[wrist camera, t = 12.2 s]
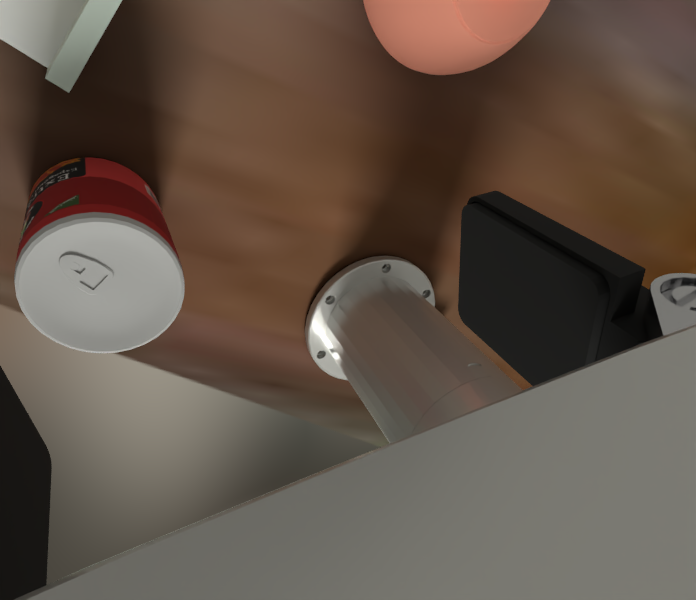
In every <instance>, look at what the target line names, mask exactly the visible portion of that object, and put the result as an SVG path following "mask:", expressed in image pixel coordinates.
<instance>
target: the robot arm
mask: <svg viewBox="0 0 696 600" xmlns="http://www.w3.org/2000/svg"><path fill="white" fill-rule="evenodd" d="M644 273H645V268H643V267H641V266H639V265H637V264H635V263H633V262H631V261H630V260H628V259H626V258H624V257H622V256H620V255H618V254H616V253H614V252H612V251H611V250H609V249H607V248H605V247H603V246H601V245H599V244H597V243H595V242H594V241H592V240H590V239H588V238H586V237H584V236H582V235H580V234H578V233H576V232H575V231H573V230H571V229H569V228H567V227H565V226H563V225H561V224H559V223H558V222H556V221H554V220H552V219H550V218H548V217H546V216H544V215H542V214H540V213H539V212H537V211H535V210H533V209H531V208H529V207H527V206H525V205H523V204H522V203H520V202H518V201H516V200H514V199H512V198H510V197H508V196H506V195H504V194H503V193H501V192H498V191H492V192H489V193H485V194H481V195H478V196H474V197H471V198H470V199H469V201H468V203H467V205H466V206H465V207H464V208H463V210H462V220H461V247H460V274H459V301H458V311H459V315H460V317H461V319H462V321H463V322H464V324H465V325H466V326H468V327H469V328H470V329H471V330H472V331H473V332H474V333H475V334H476V335H477V336H478V337H480V338H481V339H482V340H483V341H484V342H485V343H486V344H487V345H488V346H489V347H491V348H492V349H493V350H494V351H495V352H496V353H497V354H498V355H499V356H500V357H501V358H503V359H504V360H505V361H506V362H507V363H508V364H509V365H510V366H511V367H512V368H514V369H515V370H516V371H517V372H518V373H519V374H520V375H521V376H522V377H523V378H524V379H526V380H527V381H528V382H529V383H530V384H531V385H532V386H533V387H530V388H528V389H525V390H522V389H521V388H520V387H519V386H518V385H517V384H516V383H514V382H513V381H512V380H511V379H510V378H509V377H508V376H507V375H506V374H505V373H504V372H503V371H502V370H501V369H499V368H498V367H497V366H496V365H495V364H494V363H493V362H492V361H491V360H490V359H489V358H488V357H487V356H486V355H485V354H484V353H482V352H481V351H480V350H479V349H478V348H477V347H476V346H475V345H474V344H473V343H472V342H471V341H470V340H469V339H468V338H467V337H466V336H464V335H463V334H462V333H461V332H460V331H459V330H458V329H457V328H456V327H455V326H454V325H453V324H452V323H451V322H450V321H449V320H448V319H446V318H445V317H444V316H443V315H442V314H441V313H440V312H439V311H438V310H437V309H436V308H435V297H434V291H433V288H432V285H431V282H430V281H429V279H428V278H427V276H426V275H425V274H424V273H423V272H422V271H421V270H420V269H419V268H418V267H417V266H415V265H414V264H412V263H411V262H409V261H408V260H405V259H402V258H400V257H394V256H387V255H386V256H374V257H370V258H366V259H362V260H360V261H358V262H355V263H353V264H351V265H349V266H347V267H346V268H344V269H343V270H341V271H340V272H338V273H337V274H336V275H334V276H333V277H332V278H331V279H330V280H329V281H328V282H327V283H326V284H325V285H324V286H323V288H322V289H321V290H320V291H319V293H318V294H317V296H316V297H315V299H314V301H313V303H312V305H311V307H310V310H309V312H308V315H307V318H306V325H305V339H306V344H307V347H308V350H309V352H310V354H311V356H312V358H313V359H314V361H315V362H316V363H317V365H318V366H319V367H320V368H321V369H322V370H323V371H325V372H326V373H327V374H329V375H331V376H334V377H336V378H339V379H344V380H348V381H349V382H350V384H351V385H352V387H353V388H354V390H355V391H356V393H357V394H358V396H359V397H360V399H361V400H362V402H363V403H364V405H365V406H366V408H367V409H368V411H369V412H370V414H371V415H372V417H373V418H374V420H375V421H376V423H377V424H378V426H379V427H380V429H381V430H382V432H383V433H384V435H385V436H386V438H387V439H388V441H389V442H390V444H388V445H385V446H383V447H380V448H378V449H375V450H373V451H370V452H368V453H365V454H363V455H360V456H358V457H355V458H353V459H351V460H348V461H346V462H343V463H340V464H338V465H336V466H333V467H331V468H328V469H326V470H323V471H321V472H318V473H316V474H313V475H311V476H308V477H306V478H304V479H301V480H299V481H296V482H294V483H291V484H289V485H286V486H284V487H282V488H279V489H277V490H274V491H272V492H269V493H267V494H264V495H262V496H259V497H257V498H255V499H252V500H250V501H247V502H245V503H242V504H240V505H237V506H235V507H233V508H230V509H228V510H225V511H223V512H221V513H218V514H215V515H213V516H211V517H208V518H206V519H203V520H201V521H199V522H196V523H194V524H191V525H189V526H186V527H184V528H181V529H179V530H176V531H174V532H172V533H169V534H167V535H164V536H162V537H159V538H157V539H154V540H152V541H150V542H147V543H145V544H142V545H140V546H137V547H135V548H133V549H130V550H128V551H125V552H123V553H121V554H118V555H116V556H113V557H111V558H108V559H106V560H104V561H101V562H99V563H96V564H94V565H91V566H89V567H86V568H84V569H82V570H79V571H78V572H75V573H73V574H70V575H69V576H66V577H64V578H61V579H59V580H57V581H55V582H52V583H50V584H48V585H46V579H47V557H48V556H47V555H48V534H49V511H50V489H51V488H50V487H51V458H50V454H49V451H48V449H47V447H46V445H45V443H44V441H43V440H42V438H41V436H40V434H39V433H38V431H37V429H36V427H35V426H34V424H33V422H32V420H31V419H30V417H29V415H28V413H27V412H26V410H25V408H24V406H23V405H22V403H21V401H20V399H19V398H18V396H17V394H16V392H15V391H14V389H13V387H12V385H11V384H10V382H9V380H8V378H7V377H6V375H5V373H4V371H3V370H2V368H1V366H0V600H696V274H689V273H673V274H668V275H663V276H661V277H658V278H656V279H655V280H654V281H653V282H652V283H651V286H650V289H647V288H645V287H643V286H642V281H643V277H644Z"/></svg>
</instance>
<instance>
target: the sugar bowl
mask: <svg viewBox="0 0 696 600" xmlns="http://www.w3.org/2000/svg"><path fill="white" fill-rule="evenodd" d="M363 2H364V7H365V10H366V13H367V16H368V19H369V22H370V24H371V26H372V28H373V30H374V32H375V34H376V36H377V38H378V39H379V41H380V42H381V44H382V46H383V47H384V48H385V49H386V50H387V51H388V53H389V54H390V55H391V56H392V57H393V58H395V59H396V60H397V61H398V62H400V63H401V64H403V65H404V66H406V67H408V68H410V69H412V70H415V71H418V72H422V73H426V74H431V75H450V74H459V73H463V72H467V71H471V70H474V69H477V68H479V67H481V66H484V65H486V64H488V63H490V62H492V61H494V60H495V59H497V58H499V57H500V56H501V55H503V54H504V53H506V52H507V51H508V50H509V49H511V48H512V47H513V46H514V45H515V44H517V43H518V42H519V41H520V40H521V39H522V38H523V37H524V36H525V35H526V34H527V33H528V32H529V31H530V30H531V29H532V28H533V26H534V25H535V24H536V23H537V21H538V20H539V19H540V17H541V16H542V14H543V13H544V11H545V10H546V8H547V6H548V4H549V2H550V0H363Z"/></svg>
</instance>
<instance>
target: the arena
mask: <svg viewBox="0 0 696 600" xmlns="http://www.w3.org/2000/svg"><path fill="white" fill-rule="evenodd" d="M121 2H122V0H0V39H1V40H3V41H5V42H6V43H8V44H9V45H11V46H13V47H14V48H16V49H17V50H19V51H21V52H22V53H24V54H26V55H27V56H29V57H30V58H32V59H34V60H35V61H37V62H38V63H40V64H42V65H43V66H45V67H47V68H48V69H47V73H46V76H45V79H47V80H49V81H50V82H52V83H54V84H55V85H57V86H58V87H60V88H62V89H63V90H65V91H67V92H68V93H69V92H70V90H71V89H72V87H73V85H74V84H75V82H76V80H77V78H78V77H79V75H80V73H81V71H82V70H83V68H84V66H85V64H86V63H87V61H88V59H89V57H90V56H91V54H92V52H93V50H94V49H95V47H96V45H97V43H98V42H99V40H100V38H101V37H102V35H103V33H104V31H105V30H106V28H107V26H108V24H109V23H110V21H111V19H112V17H113V16H114V14H115V12H116V10H117V9H118V7H119V5H120V3H121Z"/></svg>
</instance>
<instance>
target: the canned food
mask: <svg viewBox="0 0 696 600" xmlns="http://www.w3.org/2000/svg"><path fill="white" fill-rule="evenodd" d="M14 280H15V289H16V297H17V299H18V302H19V304H20V307H21V310H22V311H23V313H24V314H25V316H26V317H27V318H28V320H29V321H30V323H31V324H32V325H33V326H35V328H37V329H38V330H39V331H40V332H41V333H42V334H44V335H45V336H47V337H48V338H50V339H51V340H53V341H54V342H57V343H59V344H61V345H64V346H66V347H68V348H72V349H76V350H80V351H84V352H92V353H116V352H121V351H126V350H131V349H133V348H136V347H139V346H142V345H144V344H146V343H148V342H150V341H151V340H153V339H155V338H157V337H158V336H159V335H160V334H161V333H163V332H164V331H165V330H166V329H167V328H168V327H169V326H170V325H171V323H172V322H173V321H174V320H175V318H176V316H177V314H178V312H179V310H180V309H181V306H182V302H183V298H184V284H185V283H184V276H183V271H182V266H181V263H180V260H179V256H178V254H177V251H176V248H175V246H174V243H173V240H172V238H171V235H170V232H169V230H168V227H167V224H166V222H165V219H164V216H163V214H162V211H161V208H160V206H159V203H158V201H157V199H156V196H155V194H154V193H153V191H152V190H151V188H150V187H149V186H148V184H147V183H146V182H145V181H144V180H143V179H142V178H141V177H140V176H139V175H137V174H136V173H134V172H133V171H131V170H130V169H129V168H127V167H125V166H122V165H120V164H118V163H116V162H113V161H109V160H105V159H101V158H91V157H86V158H74V159H71V160H67V161H63V162H61V163H59V164H57V165H55V166H53V167H51V168H50V169H48V170H47V171H46V172H45V173H44V174H42V175H41V176H40V178H39V179H38V180H37V182H36V183H35V184H34V186H33V188H32V191H31V193H30V196H29V200H28V205H27V209H26V214H25V219H24V224H23V229H22V233H21V238H20V243H19V248H18V253H17V260H16V267H15V275H14Z"/></svg>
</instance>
